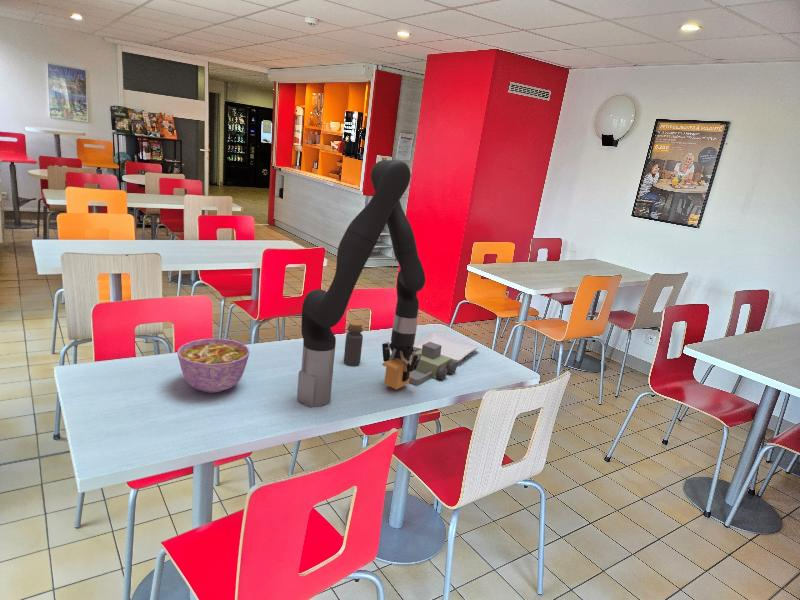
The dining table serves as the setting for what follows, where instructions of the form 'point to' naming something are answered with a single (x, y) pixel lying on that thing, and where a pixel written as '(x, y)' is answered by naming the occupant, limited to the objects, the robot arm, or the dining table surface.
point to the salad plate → (447, 346)
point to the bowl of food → (213, 363)
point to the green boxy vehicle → (431, 364)
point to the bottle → (353, 344)
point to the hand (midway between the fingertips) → (397, 378)
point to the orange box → (394, 373)
